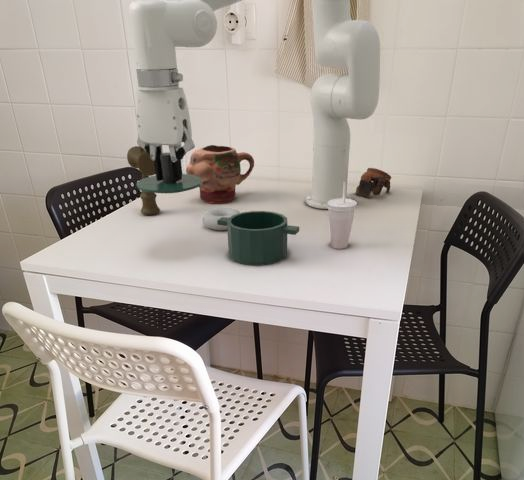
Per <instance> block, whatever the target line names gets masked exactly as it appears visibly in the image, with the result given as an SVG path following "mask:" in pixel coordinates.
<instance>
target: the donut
mask: <svg viewBox="0 0 524 480" xmlns="http://www.w3.org/2000/svg"><path fill="white" fill-rule="evenodd" d="M239 213H241V211H240V210H237V209H236V208H232V207H216V208H211V209H209V210H207V211H206V212H204V214H203V216H202V219H201V220H202V223H203V225H204V227H206V228H207V229H210V230H214V231H227V226H223V225H217V220H219V219H220V218H222V217H225V218H230V217H231V216H233V215H236V214H239Z"/></svg>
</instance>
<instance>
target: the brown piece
mask: <svg viewBox="0 0 524 480" xmlns="http://www.w3.org/2000/svg"><path fill="white" fill-rule="evenodd" d="M391 180H392V176H391V175H390V174H389V173H388V172H385V170H381V169H379V168H376V167H375V168H374V167H368V168H367V169H366V171H365V172H364V173H363V174H362V175H361V176H360V180H359V182H358V185H357V186H356V189H355V195H360V196H361V197H364V198H368V199H370V196H371V194H372V195H373V196H380V195H381V193H382V190H383V188H385V189H386V190H385V193H386V194H388V193H390V190H391Z"/></svg>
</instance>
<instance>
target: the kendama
mask: <svg viewBox="0 0 524 480" xmlns="http://www.w3.org/2000/svg"><path fill="white" fill-rule="evenodd" d="M138 136H139V134H138V135H137V137H138ZM126 159H127V163H128V164H129V166H130V167H131V168H134V169H138V171H139V172H140V173H141V179H144V178H147V177H151V176H156V174H155V167H154V161H153V160H151V158H150V155H149V154H148V153H147V152H146V150H145V149H143V148H142V147H140V146H139V145H135V146H132V147H130V148H129V149H128V150H127V155H126ZM157 196H158V195H157V193H151V192H145V191H142V190H141V193H140V194H139V198H140V199H141V202H142V203H141V204H142V206H141V209H140V213H141V214H143V215H146V216H147V215H149V216H151V215H156V214H158V213H160V211H161V208H160V207H159V206H158V204H157V200H156V199H157Z"/></svg>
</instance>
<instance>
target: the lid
mask: <svg viewBox="0 0 524 480" xmlns="http://www.w3.org/2000/svg"><path fill="white" fill-rule="evenodd" d="M159 155H160V163H161V171H162V179H163V180H161V181H157V179H156V175H152V176H149V177H147V178H144V179H142V178H141V179H140V180H138V181H137V182H136V188H137V190H140V191H141V192H142V191H145V192H151V193H155V194H176V193H184V192H186V191H191V190H194V189H198V188H199V186H201V185H202V183H203V182H202V179H201V178H200V177H198V176H195V175H189V174H187V173H182V179H181V180H179V181H177V182H172V181H171V176H170V167H169V162H171V161H172V160H171V156H170V152H163V153H161V154H159Z"/></svg>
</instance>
